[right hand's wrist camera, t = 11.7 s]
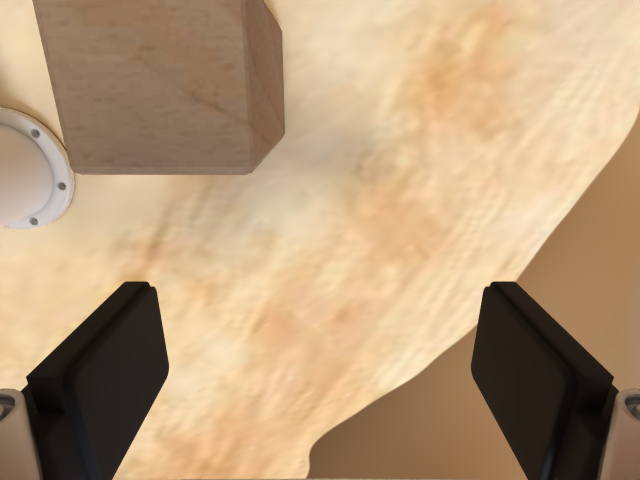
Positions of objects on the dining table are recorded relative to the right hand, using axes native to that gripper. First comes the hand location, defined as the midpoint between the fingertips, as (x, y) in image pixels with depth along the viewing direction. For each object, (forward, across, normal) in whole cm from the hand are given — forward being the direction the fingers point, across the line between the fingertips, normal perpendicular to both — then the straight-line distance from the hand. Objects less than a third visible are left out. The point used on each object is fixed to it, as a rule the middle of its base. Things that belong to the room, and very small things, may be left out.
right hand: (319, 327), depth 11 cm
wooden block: (+31, -8, +7) cm, 33 cm away
